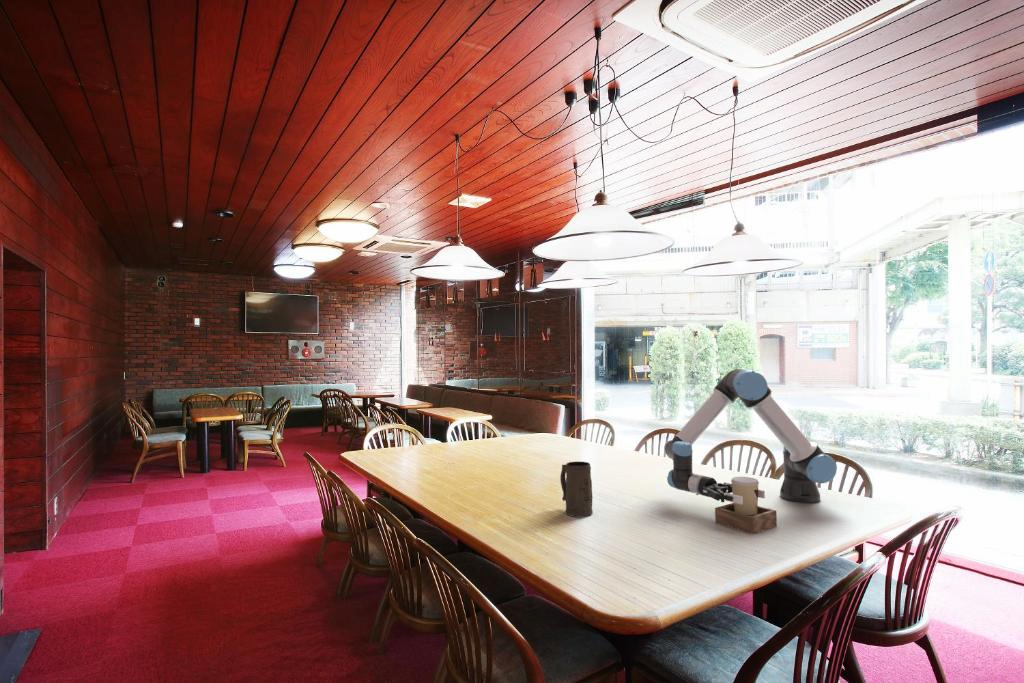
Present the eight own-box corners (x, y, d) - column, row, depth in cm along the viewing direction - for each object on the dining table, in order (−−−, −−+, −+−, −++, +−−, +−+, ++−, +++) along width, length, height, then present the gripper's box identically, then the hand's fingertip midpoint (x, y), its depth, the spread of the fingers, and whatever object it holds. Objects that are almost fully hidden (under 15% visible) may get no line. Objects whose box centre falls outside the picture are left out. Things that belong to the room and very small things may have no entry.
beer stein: (599, 512, 208) (596, 461, 209) (583, 519, 200) (580, 466, 201) (568, 508, 218) (565, 459, 220) (552, 514, 210) (549, 463, 212)
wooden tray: (739, 515, 202) (739, 501, 202) (776, 525, 190) (776, 510, 190) (715, 522, 194) (715, 507, 194) (752, 534, 182) (752, 517, 182)
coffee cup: (762, 516, 189) (761, 482, 189) (735, 515, 191) (734, 482, 191) (755, 508, 198) (755, 476, 198) (729, 507, 200) (728, 476, 200)
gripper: (722, 490, 214) (773, 502, 196) (682, 500, 200) (732, 514, 182) (722, 471, 214) (772, 482, 196) (682, 480, 200) (732, 492, 183)
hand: (753, 497), depth 189 cm, fingers open, 13 cm apart
